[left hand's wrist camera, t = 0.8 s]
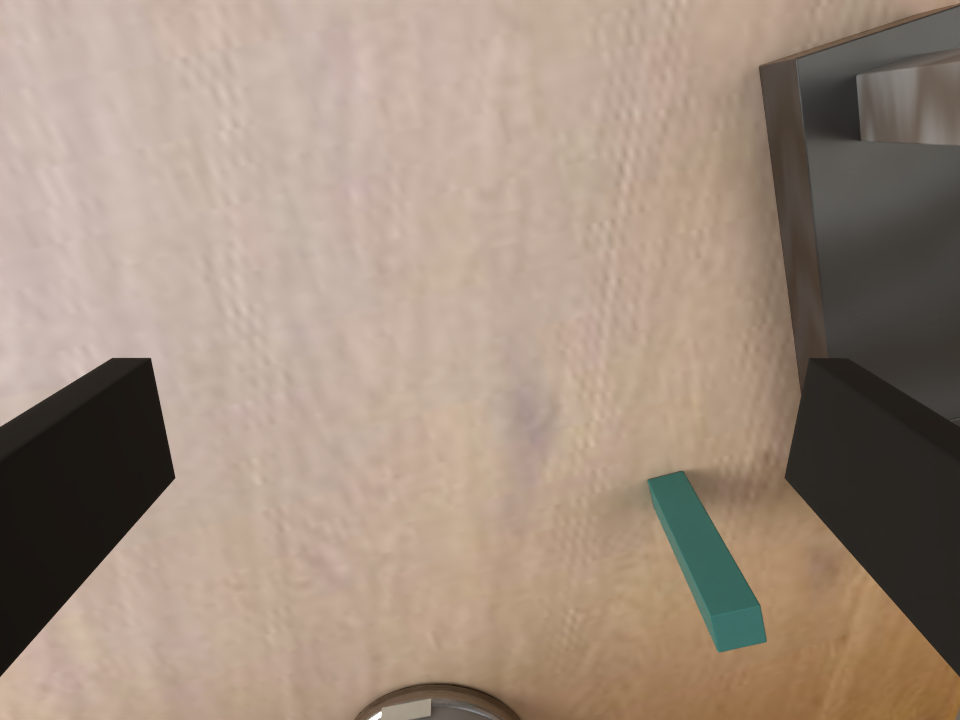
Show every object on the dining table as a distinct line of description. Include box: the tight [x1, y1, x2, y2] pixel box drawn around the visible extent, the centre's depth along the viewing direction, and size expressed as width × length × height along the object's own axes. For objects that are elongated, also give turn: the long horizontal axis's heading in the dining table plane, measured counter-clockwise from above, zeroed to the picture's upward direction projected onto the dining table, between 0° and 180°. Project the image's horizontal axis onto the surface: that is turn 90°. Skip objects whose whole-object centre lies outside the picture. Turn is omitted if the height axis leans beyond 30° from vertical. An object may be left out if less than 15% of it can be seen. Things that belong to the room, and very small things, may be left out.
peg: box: [648, 471, 767, 652], centre depth 35 cm, size 2×2×12 cm
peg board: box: [759, 3, 960, 427], centre depth 29 cm, size 26×8×13 cm, turn 17°
